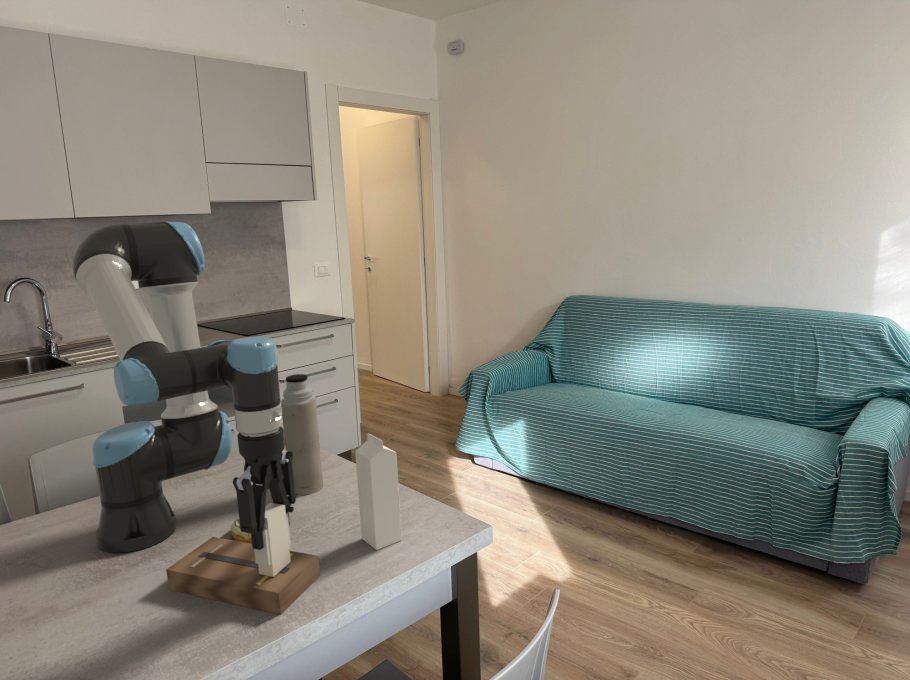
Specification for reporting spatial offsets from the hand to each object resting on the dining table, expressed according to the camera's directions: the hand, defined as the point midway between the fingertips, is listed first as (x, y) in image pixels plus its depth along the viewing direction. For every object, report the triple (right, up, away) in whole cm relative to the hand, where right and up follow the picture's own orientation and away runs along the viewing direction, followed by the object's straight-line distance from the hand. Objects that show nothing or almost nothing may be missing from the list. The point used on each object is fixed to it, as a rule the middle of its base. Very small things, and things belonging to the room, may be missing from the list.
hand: (273, 554), depth 113 cm
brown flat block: (-6, -6, +4) cm, 10 cm away
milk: (+17, -3, +17) cm, 24 cm away
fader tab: (0, -2, +1) cm, 3 cm away
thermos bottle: (-4, +2, +43) cm, 43 cm away
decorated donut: (-9, -3, +22) cm, 24 cm away
